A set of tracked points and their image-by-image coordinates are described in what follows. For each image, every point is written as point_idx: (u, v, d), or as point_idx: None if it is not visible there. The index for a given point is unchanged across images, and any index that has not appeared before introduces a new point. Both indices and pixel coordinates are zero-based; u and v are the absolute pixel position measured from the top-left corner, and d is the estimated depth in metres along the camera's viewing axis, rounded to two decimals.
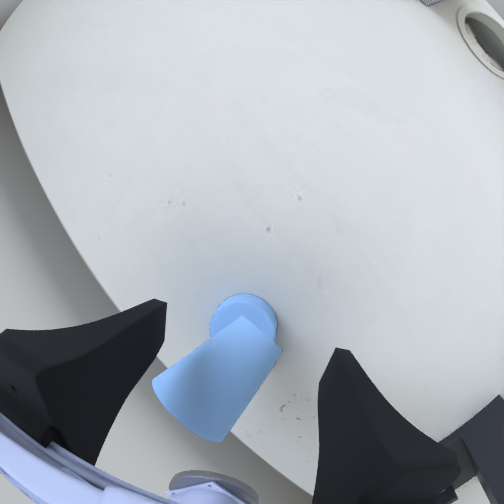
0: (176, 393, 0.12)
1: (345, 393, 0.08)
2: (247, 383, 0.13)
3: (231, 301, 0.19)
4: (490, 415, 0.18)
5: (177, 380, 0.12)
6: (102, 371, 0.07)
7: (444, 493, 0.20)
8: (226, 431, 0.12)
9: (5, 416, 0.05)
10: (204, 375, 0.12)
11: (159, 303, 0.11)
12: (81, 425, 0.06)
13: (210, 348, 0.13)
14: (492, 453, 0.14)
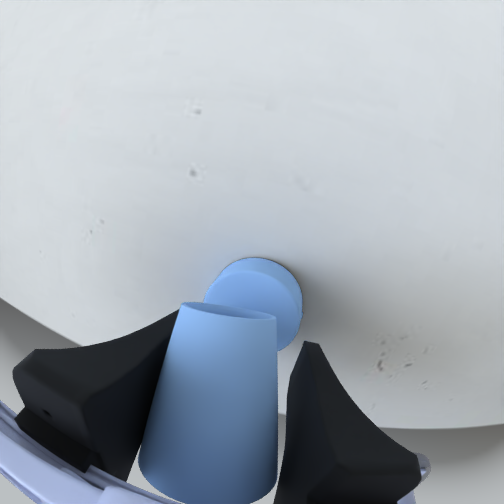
0: (149, 458, 0.07)
1: (307, 386, 0.09)
2: (229, 406, 0.07)
3: (210, 286, 0.13)
4: None
5: (146, 439, 0.07)
6: (139, 387, 0.07)
7: None
8: (257, 482, 0.07)
9: (5, 416, 0.05)
10: (163, 421, 0.07)
11: None
12: (118, 445, 0.06)
13: (160, 375, 0.08)
14: None
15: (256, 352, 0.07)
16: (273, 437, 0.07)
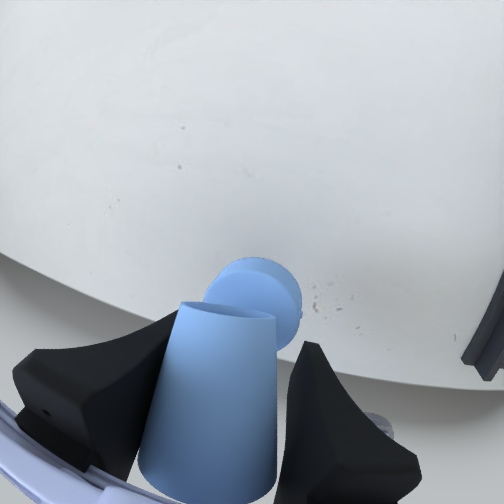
0: (148, 458, 0.07)
1: (307, 387, 0.08)
2: (228, 406, 0.07)
3: (209, 286, 0.13)
4: None
5: (145, 439, 0.07)
6: (139, 387, 0.07)
7: None
8: (257, 482, 0.07)
9: (5, 416, 0.05)
10: (162, 420, 0.07)
11: None
12: (118, 445, 0.06)
13: (160, 375, 0.08)
14: None
15: (255, 351, 0.07)
16: (272, 437, 0.07)
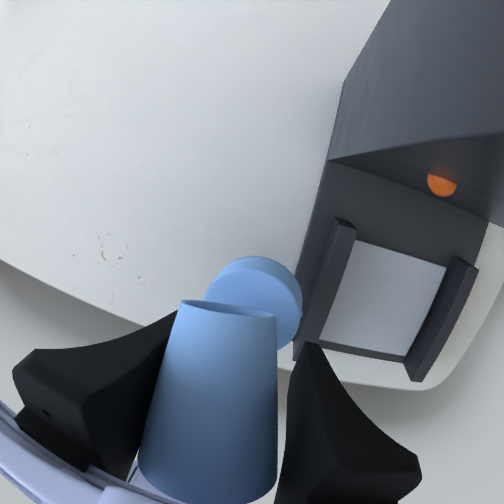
0: (148, 457, 0.07)
1: (308, 387, 0.08)
2: (229, 405, 0.07)
3: (210, 285, 0.13)
4: (341, 104, 0.16)
5: (145, 438, 0.07)
6: (139, 386, 0.07)
7: (450, 274, 0.18)
8: (257, 481, 0.06)
9: (5, 416, 0.05)
10: (162, 419, 0.07)
11: None
12: (118, 444, 0.06)
13: (159, 374, 0.08)
14: (347, 123, 0.12)
15: (256, 350, 0.07)
16: (273, 436, 0.07)
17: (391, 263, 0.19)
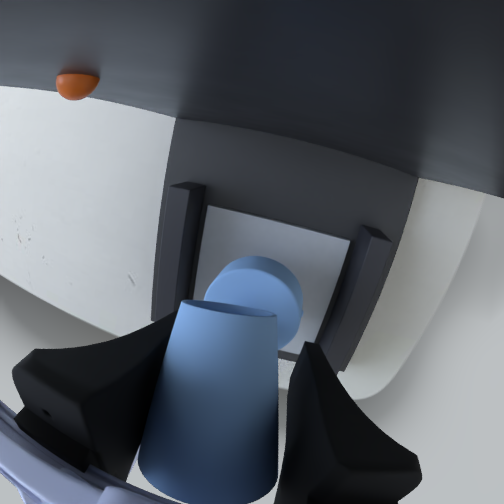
0: (149, 457, 0.07)
1: (308, 387, 0.08)
2: (229, 404, 0.07)
3: None
4: None
5: (146, 438, 0.07)
6: (139, 387, 0.07)
7: (356, 249, 0.15)
8: (258, 481, 0.06)
9: (5, 416, 0.05)
10: (163, 419, 0.07)
11: None
12: (118, 444, 0.06)
13: (160, 373, 0.08)
14: None
15: (257, 349, 0.07)
16: (274, 436, 0.07)
17: (261, 234, 0.16)
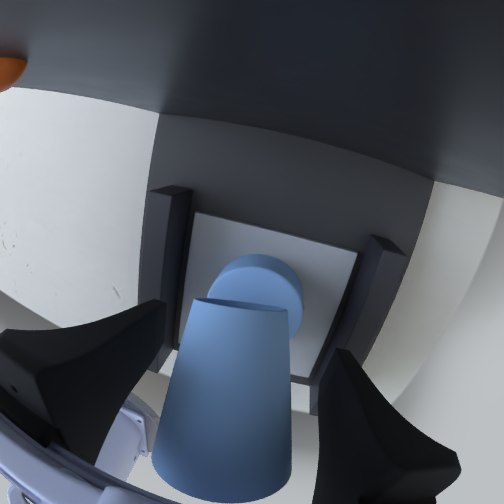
0: (166, 458, 0.07)
1: (345, 393, 0.08)
2: (249, 398, 0.07)
3: (213, 283, 0.13)
4: None
5: (161, 438, 0.07)
6: (102, 370, 0.07)
7: (364, 263, 0.13)
8: (276, 474, 0.07)
9: (5, 416, 0.05)
10: (181, 418, 0.07)
11: (159, 303, 0.11)
12: (81, 425, 0.06)
13: (174, 372, 0.08)
14: None
15: (272, 343, 0.08)
16: (288, 428, 0.08)
17: (256, 245, 0.14)
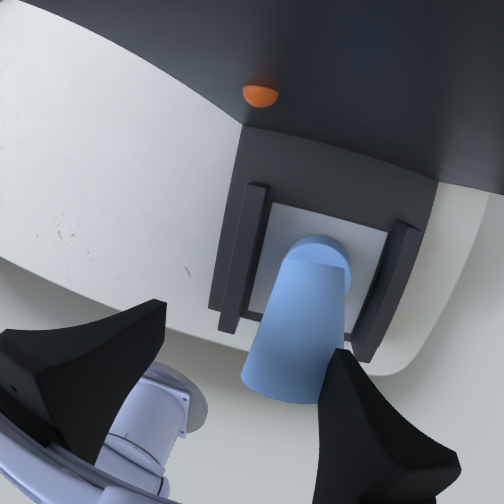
0: (258, 371, 0.12)
1: (345, 393, 0.08)
2: (320, 321, 0.11)
3: None
4: None
5: (254, 357, 0.12)
6: (102, 370, 0.07)
7: (393, 239, 0.18)
8: None
9: (5, 416, 0.05)
10: (273, 337, 0.12)
11: (159, 303, 0.11)
12: (81, 425, 0.06)
13: (269, 308, 0.13)
14: None
15: (336, 286, 0.12)
16: None
17: (318, 226, 0.19)
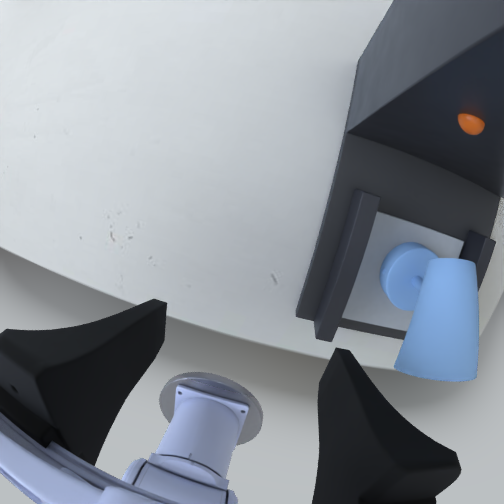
0: (436, 360, 0.10)
1: (345, 393, 0.08)
2: (475, 308, 0.11)
3: (393, 259, 0.17)
4: (357, 79, 0.16)
5: (428, 350, 0.11)
6: (103, 370, 0.07)
7: (468, 247, 0.17)
8: (477, 361, 0.11)
9: (5, 416, 0.05)
10: (447, 327, 0.11)
11: (159, 303, 0.11)
12: (81, 425, 0.06)
13: (433, 303, 0.12)
14: (370, 88, 0.12)
15: (476, 280, 0.12)
16: None
17: (411, 235, 0.18)
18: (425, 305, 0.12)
